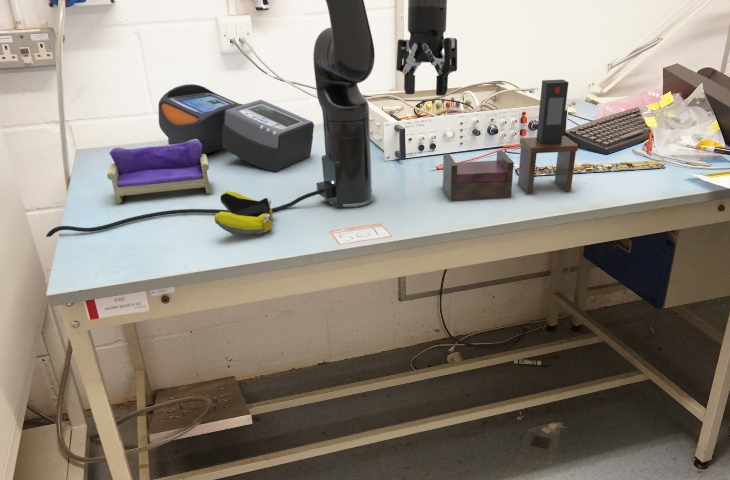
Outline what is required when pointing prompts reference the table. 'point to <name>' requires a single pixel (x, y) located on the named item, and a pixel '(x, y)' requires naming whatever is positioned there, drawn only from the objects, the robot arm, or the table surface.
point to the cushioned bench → (476, 187)
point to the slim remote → (552, 111)
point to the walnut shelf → (533, 147)
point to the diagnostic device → (235, 127)
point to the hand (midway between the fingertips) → (425, 94)
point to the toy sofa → (158, 169)
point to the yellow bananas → (244, 214)
